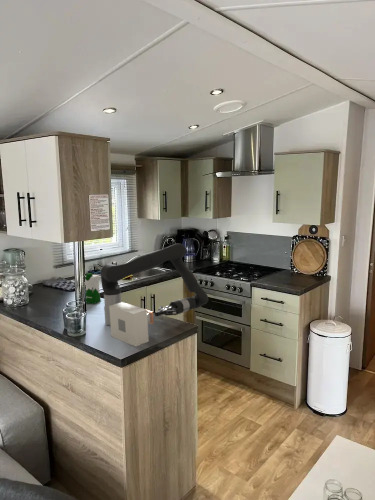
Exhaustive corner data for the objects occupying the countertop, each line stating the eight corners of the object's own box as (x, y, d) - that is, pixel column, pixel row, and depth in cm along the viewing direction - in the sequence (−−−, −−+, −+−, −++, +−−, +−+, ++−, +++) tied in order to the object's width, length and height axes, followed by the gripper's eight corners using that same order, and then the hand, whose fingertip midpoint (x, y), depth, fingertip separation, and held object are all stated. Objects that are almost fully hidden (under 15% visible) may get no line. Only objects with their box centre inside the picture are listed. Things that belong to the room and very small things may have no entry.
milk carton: (83, 303, 253) (81, 273, 250) (92, 299, 261) (90, 271, 258) (94, 304, 249) (92, 274, 246) (103, 300, 257) (100, 271, 254)
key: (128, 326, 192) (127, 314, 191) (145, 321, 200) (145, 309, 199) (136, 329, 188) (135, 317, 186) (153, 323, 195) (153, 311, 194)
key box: (111, 336, 193) (109, 305, 191) (124, 331, 199) (122, 302, 196) (135, 346, 179) (133, 313, 177) (148, 341, 185) (146, 309, 182)
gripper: (171, 297, 216) (147, 305, 204) (187, 302, 207) (163, 309, 195) (171, 310, 217) (147, 318, 205) (188, 315, 208) (164, 324, 196)
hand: (155, 314), depth 200 cm, fingers closed
